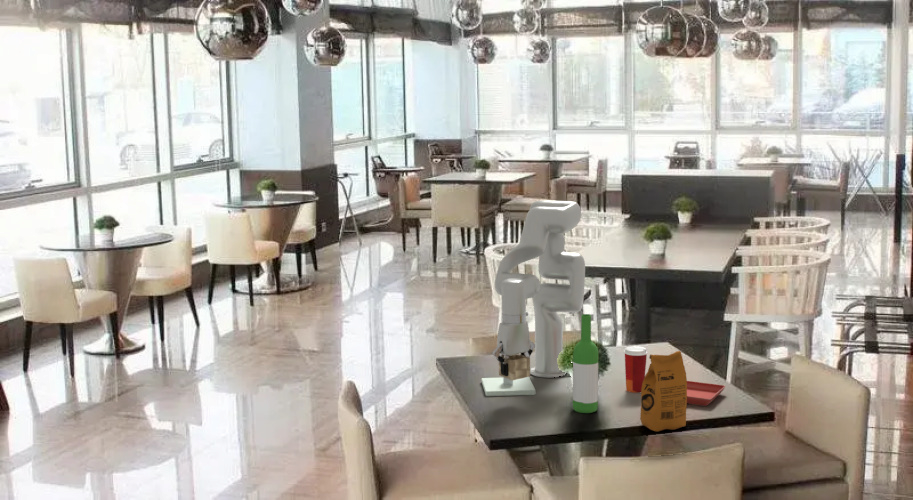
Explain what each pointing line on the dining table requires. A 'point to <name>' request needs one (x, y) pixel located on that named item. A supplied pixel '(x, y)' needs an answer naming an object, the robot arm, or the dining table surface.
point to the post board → (507, 386)
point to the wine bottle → (585, 370)
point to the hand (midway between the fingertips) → (514, 372)
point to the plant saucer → (702, 392)
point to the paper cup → (635, 368)
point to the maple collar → (517, 367)
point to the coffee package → (664, 393)
